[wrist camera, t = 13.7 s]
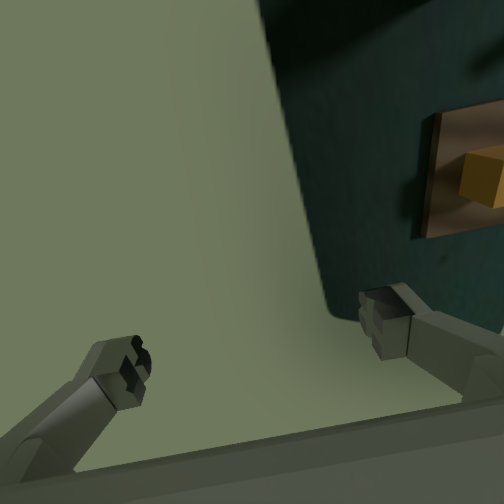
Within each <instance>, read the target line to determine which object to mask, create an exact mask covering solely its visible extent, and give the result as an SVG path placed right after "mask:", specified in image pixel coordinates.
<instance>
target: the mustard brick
mask: <svg viewBox="0 0 504 504" xmlns="http://www.w3.org/2000/svg"><path fill="white" fill-rule="evenodd" d="M459 195H460V196H463V197H465V198H468V199H470V200H473V201H475V202H477V203H480V204H482V205H485V206H487V207H490V208H492V209H494V208H499V207H504V145H500V146H495V147H490V148H486V149H481V150H476V151H471V152H466V156H465V161H464V167H463V172H462V178H461V184H460V189H459Z"/></svg>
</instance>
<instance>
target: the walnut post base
mask: <svg viewBox="0 0 504 504" xmlns="http://www.w3.org/2000/svg"><path fill="white" fill-rule="evenodd" d="M500 145H504V98H502V99H497V100H492V101H487V102H483V103H478V104H473V105H469V106H464V107H459V108H454V109H450V110H445V111H440V112H436V113H435V116H434V124H433V133H432V141H431V150H430V158H429V167H428V175H427V184H426V192H425V201H424V209H423V217H422V226H421V234H420V235H422V236H423V237H425V238H426V239H427V238H432V237H437V236H442V235H447V234H452V233H457V232H462V231H467V230H472V229H477V228H482V227H487V226H492V225H497V224H502V223H504V207H499V208H494V209H492V208H490V207H487V206H485V205H482V204H480V203H477V202H475V201H473V200H470V199H468V198H465V197H463V196H460V195H459V189H460V184H461V178H462V172H463V167H464V161H465V156H466V152H471V151H476V150H481V149H486V148H490V147H495V146H500Z"/></svg>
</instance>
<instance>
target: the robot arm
mask: <svg viewBox="0 0 504 504" xmlns="http://www.w3.org/2000/svg"><path fill="white" fill-rule="evenodd" d="M359 301H360V303H361V304H362V306H361V308H360V309H359V319H360V323H361V326H362V328H363V330H364V332H365V334H366V336H368V337H370V338H372V346H373V348H374V349H375V351H376V353H377V354H378V356H379V358H380V359H381V361H383V360H389V359H396V358H402V357H407V358H408V359H409V360H411V361H412V362H414V363H415V364H417V365H418V366H420V367H421V368H423V369H424V370H426V371H427V372H429V373H430V374H432V375H433V376H435V377H436V378H438V379H439V380H440V381H442V382H444V383H445V384H446V385H448V386H449V387H451V388H452V389H454V390H455V391H457V392H458V393H460V394H461V395H463V397H462V401H461V403H457V404H451V405H446V406H440V407H435V408H430V409H424V410H418V411H413V412H407V413H402V414H396V415H391V416H385V417H380V418H374V419H369V420H363V421H358V422H353V423H348V424H342V425H336V426H331V427H325V428H320V429H315V430H309V431H304V432H298V433H292V434H287V435H282V436H276V437H271V438H265V439H260V440H254V441H248V442H243V443H237V444H232V445H227V446H221V447H215V448H210V449H204V450H199V451H193V452H188V453H182V454H177V455H171V456H166V457H160V458H155V459H149V460H144V461H138V462H133V463H127V464H122V465H116V466H111V467H106V468H100V469H94V470H89V471H83V472H77V473H76V472H75V471H74V470H73V468H74V467H75V466H76V464H77V463H78V462H79V461H80V459H81V458H82V456H83V455H84V454H85V453H86V451H87V450H88V449H89V448H90V446H91V445H92V444H93V443H94V441H95V440H96V439H97V437H98V436H99V435H100V433H101V432H102V431H103V430H104V428H105V427H106V426H107V425H108V423H109V422H110V421H111V420H112V418H113V417H114V416H115V414H116V413H117V411H119V410H124V409H129V408H133V407H137V406H141V403H142V400H143V397H144V393H145V390H146V387H145V385H144V382H145V381H146V380H147V379H148V378H149V377H150V373H151V358H150V355H149V353H148V351H147V350H145V349H143V348H142V347H141V346H142V344H143V341H142V340H141V338H140V336H138V335H133V336H127V337H122V338H115V339H110V340H105V341H99V342H96V343H95V344H93V345H92V347H91V349H90V351H89V352H88V354H87V356H86V358H85V360H84V361H83V363H82V365H81V366H80V368H79V370H78V372H77V373H76V375H75V377H74V379H73V380H72V381H69V382H67V383H66V384H64V386H62V387H61V388H60V389H59V390H58V391H56V392H55V393H54V394H53V395H51V396H50V397H49V398H48V399H47V400H45V401H44V402H43V403H42V404H41V405H39V406H38V407H37V408H36V409H35V410H33V411H32V412H31V413H30V414H29V415H28V416H26V417H25V418H24V419H23V420H22V421H21V422H19V423H18V424H17V425H16V426H14V427H13V428H12V429H11V430H10V431H9V432H7V433H6V434H5V435H4V436H3V437H1V438H0V504H504V337H503V336H501V335H499V334H496V333H493V332H491V331H488V330H486V329H483V328H480V327H478V326H475V325H473V324H470V323H468V322H465V321H462V320H460V319H457V318H455V317H452V316H449V315H447V314H444V313H442V312H439V311H435V312H433V311H432V310H431V309H430V308H429V307H428V306H427V305H426V304H425V303H424V302H423V301H422V300H421V299H420V298H419V297H418V296H417V295H416V294H415V293H414V292H413V291H412V290H411V289H410V288H409V287H408V286H407V285H406V284H405V283H403V282H401V283H397V284H392V285H388V286H384V287H379V288H374V289H369V290H364V291H360V293H359Z"/></svg>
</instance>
